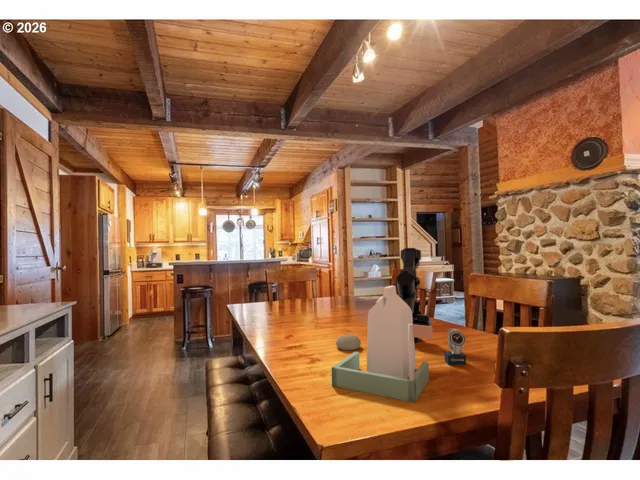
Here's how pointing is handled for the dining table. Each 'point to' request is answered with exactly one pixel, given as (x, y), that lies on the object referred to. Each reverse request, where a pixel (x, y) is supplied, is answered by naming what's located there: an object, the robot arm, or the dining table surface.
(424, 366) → the corral
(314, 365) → the dining table surface
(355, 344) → the sea urchin shell
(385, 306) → the milk
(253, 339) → the dining table surface
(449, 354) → the watch
